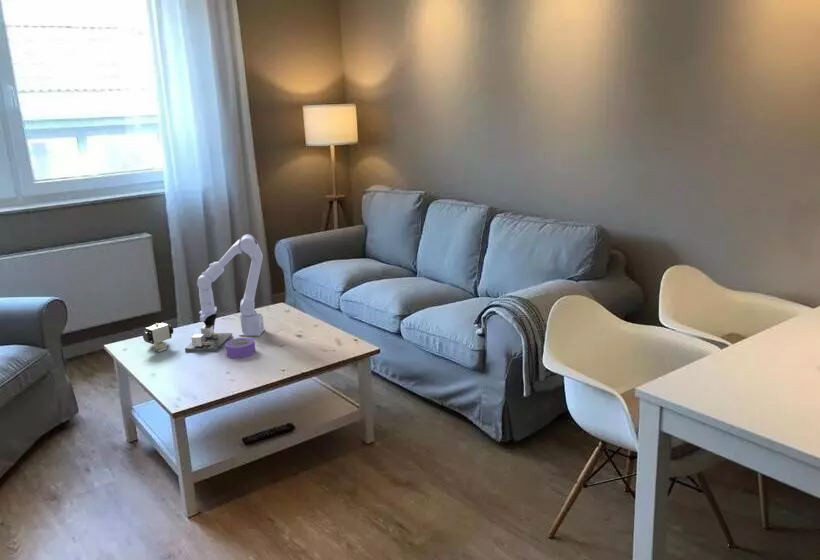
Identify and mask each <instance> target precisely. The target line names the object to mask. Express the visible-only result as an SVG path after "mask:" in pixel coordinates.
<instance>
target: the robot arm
mask: <svg viewBox="0 0 820 560" xmlns="http://www.w3.org/2000/svg"><path fill="white" fill-rule="evenodd" d="M243 253H245V254H247V256H248V257H249V258H250V259H251V262H250V267H249V270H248V271H249V272H248V276H247V280H246V286H245V291H244V295H243V298H242V299H241V300H240V303H239V305H240V307H239V311H240V312H239V317H240V319H239V320H240V326H241V332H240V333H239V334H238V336H240V337H243V336H244V337H247V336H251V337H252V336H255V337H256V336H260V335H262V334H263V333H264V331H265V330H266V328H265V325H264V318H263V314H262V313H258V312H257V310H256V309H255V305H256V304H255V303H256V302H255V299H256V298H255V297H256V294H257V293H256V291H257V287H258V282H259V278H260V277H259V276H260V275H261V274H260V273H261V268H262V265H263V264H262V263H263V260H264V255H263V252H262V250H261V247H260V245H259V242H258V240H257V239H256V238H255V237H254V236H253V235H252V234H249V233H248V234H247V233H246V234H244V235H242V236H241V238H240V239H237V240H236V241H235V243H233V244H232V245H231V246H230V248H229V249H228V250H227V251H226V252H225V253H224V255H223V256H222V257H221V258H220V259H219V260H218V261H213V262H212V263H211V262H210V264H209V265H208V266H209V267H208V268H207V269H205V271H202V272H201V274H200V275H199V276H198V278H197V281H196V284H197V288H198V291H199V293H198V296H199V304H200V309H201V310H200V311H199V312H198V314H199V315H200V316H199V320H200V321H199V322H203V324H204V325H213V328H214V329H215V322H216V320H217V319H216V318H217V317H218V316H217V314H216V313H217V312H218V307H217V306H215V301H214V292H213V288H212V283H213V282H215V281H216V280H217V279H218V278H219V277H220V276H221V275H222V274H223V273H224V272H225V266H226V265H227V264H228V263H229V262H230V261H231V260H233V258H234V257H235V256H236V255H241V254H243Z"/></svg>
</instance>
